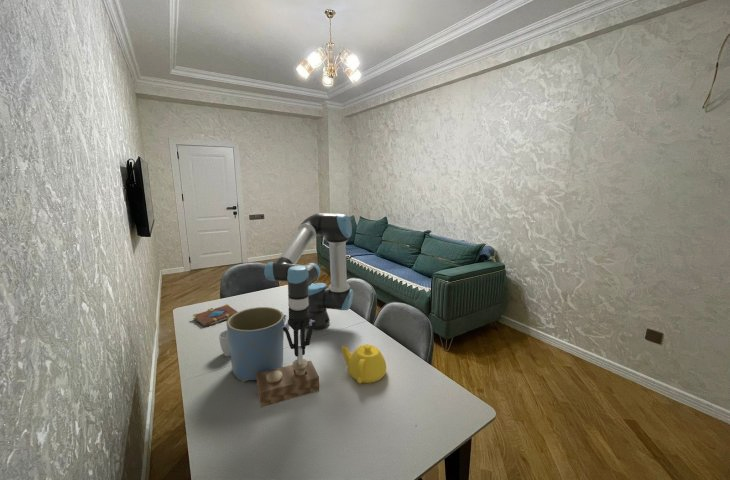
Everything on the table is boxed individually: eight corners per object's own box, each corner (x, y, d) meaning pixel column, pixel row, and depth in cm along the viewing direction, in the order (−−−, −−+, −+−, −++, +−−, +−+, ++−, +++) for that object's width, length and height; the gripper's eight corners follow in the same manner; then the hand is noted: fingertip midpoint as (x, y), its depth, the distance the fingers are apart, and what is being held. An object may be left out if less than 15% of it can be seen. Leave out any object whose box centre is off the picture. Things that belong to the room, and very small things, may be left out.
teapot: (390, 366, 136) (391, 340, 134) (378, 393, 119) (379, 364, 116) (348, 357, 143) (349, 332, 140) (331, 381, 125) (331, 353, 123)
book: (246, 315, 186) (246, 308, 185) (204, 330, 167) (203, 322, 166) (233, 306, 196) (232, 299, 195) (191, 319, 177) (191, 311, 176)
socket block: (311, 373, 130) (310, 360, 129) (319, 390, 120) (319, 377, 119) (257, 386, 121) (256, 373, 120) (260, 407, 110) (260, 392, 109)
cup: (232, 359, 139) (230, 339, 137) (216, 356, 141) (214, 337, 139) (242, 349, 147) (241, 330, 145) (227, 347, 148) (226, 328, 146)
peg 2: (305, 373, 126) (305, 357, 124) (309, 381, 121) (309, 365, 119) (291, 376, 123) (291, 360, 122) (294, 385, 118) (294, 368, 117)
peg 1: (281, 385, 122) (280, 369, 121) (284, 394, 117) (283, 377, 115) (266, 389, 120) (265, 372, 118) (268, 398, 114) (267, 381, 113)
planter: (232, 391, 118) (228, 336, 114) (228, 360, 138) (224, 312, 133) (290, 375, 129) (289, 324, 124) (279, 348, 148) (277, 303, 144)
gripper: (312, 300, 122) (313, 354, 126) (279, 305, 116) (281, 361, 121) (318, 307, 115) (318, 363, 120) (283, 313, 110) (285, 372, 114)
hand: (299, 362), depth 120 cm, fingers closed
